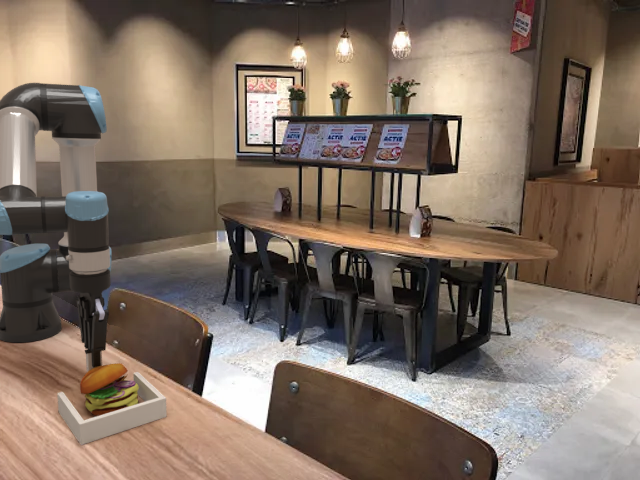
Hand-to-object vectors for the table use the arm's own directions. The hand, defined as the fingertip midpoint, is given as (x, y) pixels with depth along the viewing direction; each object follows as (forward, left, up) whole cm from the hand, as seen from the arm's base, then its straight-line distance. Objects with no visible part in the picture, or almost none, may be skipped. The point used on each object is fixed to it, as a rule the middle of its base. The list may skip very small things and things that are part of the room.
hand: (95, 378), depth 111 cm
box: (+8, +5, -4) cm, 10 cm away
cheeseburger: (+6, +4, -4) cm, 8 cm away
